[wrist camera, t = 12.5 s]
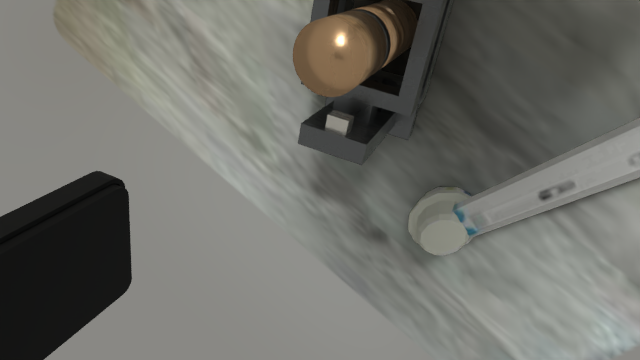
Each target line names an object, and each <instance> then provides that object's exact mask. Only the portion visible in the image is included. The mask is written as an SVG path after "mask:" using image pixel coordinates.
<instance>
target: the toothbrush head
mask: <svg viewBox="0 0 640 360" xmlns="http://www.w3.org/2000/svg"><path fill="white" fill-rule="evenodd" d="M639 177H640V118H638V119H636V120H633V121H631V122H629V123H627V124H625V125H623V126H621V127H619V128H616V129H614V130H612V131H610V132H608V133H606V134H604V135H602V136H599V137H597V138H595V139H593V140H591V141H589V142H587V143H585V144H582V145H580V146H578V147H576V148H574V149H572V150H570V151H568V152H565V153H563V154H561V155H559V156H557V157H555V158H553V159H551V160H549V161H546V162H544V163H542V164H540V165H538V166H536V167H534V168H532V169H529V170H527V171H525V172H523V173H521V174H519V175H517V176H515V177H512V178H510V179H508V180H506V181H504V182H502V183H500V184H498V185H495V186H493V187H491V188H489V189H487V190H485V191H483V192H481V193H478V194H476V195H474V196H471V195H470V193H468V192H466V191H464V190H462V189H460V188H458V187H437V188H435V189H433V190H431V191H429V192H427V193H426V194H425V195H424V197H423V198H421V199H420V200H419V201H418V203H417V204H416V205H415V206H414V208H413V209H412V210H411V211H410V214H409V224H408V231H409V233H410V234H411V236H412V238H413V239H414V241H415V243H417V244H419V245H421V247H422V248H423V249H424V250H425V251H427V252H429V253H431V254H433V255H448V254H451V253H453V252H456V251H458V250H460V249H461V247H462V246H463V245H465V244H468V243H469V241H470V240H471V239H472V238H473V237H474V236H477V235H480V234H483V233H485V232H488V231H491V230H494V229H497V228H499V227H502V226H505V225H508V224H511V223H513V222H516V221H519V220H522V219H525V218H527V217H530V216H533V215H536V214H539V213H541V212H544V211H547V210H550V209H553V208H555V207H558V206H561V205H564V204H567V203H569V202H572V201H575V200H578V199H581V198H583V197H586V196H589V195H592V194H595V193H597V192H600V191H603V190H606V189H609V188H611V187H614V186H617V185H620V184H623V183H625V182H628V181H631V180H634V179H637V178H639Z"/></svg>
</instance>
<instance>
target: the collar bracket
mask: <svg viewBox="0 0 640 360" xmlns="http://www.w3.org/2000/svg"><path fill="white" fill-rule="evenodd" d="M409 1H413V2H418V3H422V4H423V5H422V9H421V13H420V17H419V20H418V24H417V28H416V32H415V36H414V40H413V43H412V47H411V51H410V55H409V59H408V62H407V66H406V70H405V74H404V77H403V76H400V75H396V74H392V73H389V72H385V71H382V70H378V71H377V72H376V73H374V74H373V75H372V76H370V77H369V78H367V79H366V80H365V81H363V82H362V83H360V84H359V85H358V86H356V87H355V88H353V89H352V90H351V91H349V92H348V93H346V94H344V95H341V96H337V97H327V98H326V104H325V107H324V108H322V109H321V110H319V111H318V112H317V113H315V114H314V115H312V116H311V117H310V118H308V119H307V120H305V121H304V122H303V123H301V128H300V134H299V141H298V144H301V145H304V146H307V147H310V148H313V149H316V150H319V151H322V152H325V153H327V154H330V155H333V156H336V157H339V158H342V159H345V160H348V161H351V162H354V163H357V164H360V165H362V164H363V163H364V162H365V160H366V159H367V158H368V157H369V156H370V154H371V153H372V152H373V151H374V150H375V148H376V147H377V146H378V145H379V144H380V142H381V141H382V140H383V139H384V138H385V136H386V135H387V134H390V135H393V136H397V137H400V138H403V139H406V140H408V139H409V138H410V136H411V133H412V129H413V126H414V122H415V119H416V116H417V112H418V109H419V105H420V104H421V102H422V101H423V100H424V99H425V96H426V93H427V90H428V86H429V83H430V79H431V76H432V72H433V69H434V66H435V62H436V59H437V55H438V52H439V48H440V45H441V42H442V38H443V35H444V31H445V28H446V24H447V21H448V18H449V14H450V11H451V7H452V4H453V0H409ZM353 3H354V0H314V2H313V9H312V15H311V22H313V21H315V20H318V19H321V18H325V17H328V16H332V15H335V14H339V13H342V12H346V11H349V10H352V8H353ZM311 22H310V23H311ZM301 84H303V82H302V81H301ZM303 85H304V84H303Z"/></svg>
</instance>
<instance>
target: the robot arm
mask: <svg viewBox="0 0 640 360" xmlns="http://www.w3.org/2000/svg"><path fill="white" fill-rule="evenodd" d="M130 249H131V248H130V222H129V196H128V191H127V190H126V189H125V185H124V183H123V181H122V180H120V179H118V178H116V177H113V176H111V175H108V174H106V173H103V172H101V171H95V172H92V173H90V174H88V175H86V176H83V177H82V178H79V179H77V180H75V181H73V182H71V183H69V184H67V185H65V186H63V187H61V188H59V189H57V190H55V191H53V192H51V193H49V194H47V195H44V196H42V197H40V198H39V199H36V200H34V201H33V202H30V203H28V204H26V205H24V206H22V207H20V208H18V209H16V210H14V211H12V212H10V213H7V214H5V215H3V216H1V217H0V360H44V359H45V358H46V357H47V356H48V355H50V354H51V353H52V352H53V351H55V350H56V349H57V348H58V347H59V346H61V345H62V344H63V343H64V342H66V341H67V340H68V339H69V338H70V337H72V336H73V335H74V334H75V333H77V332H78V331H79V330H80V329H81V328H83V327H84V326H85V325H86V324H88V323H89V322H90V321H91V320H92V319H94V318H95V317H96V316H97V315H98V314H100V313H101V312H102V311H103V310H104V309H106V308H107V307H108V306H109V305H111V304H112V303H113V302H114V301H115V300H117V299H118V298H119V297H120V296H122V295H123V294H124V293H125V292H126V291H127V289H128V288H129V286H130V283H131V279H132V276H131V250H130Z"/></svg>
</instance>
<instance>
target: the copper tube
mask: <svg viewBox="0 0 640 360" xmlns="http://www.w3.org/2000/svg"><path fill="white" fill-rule="evenodd" d="M417 24H418V21H417V17H416V15H415V13H414V11H413V10H412V8H411V7H410V6H409V5H408V4H406V3H405V2H403V1H400V0H384V1H381V2H377V3H374V4H370V5H367V6H363V7H360V8H356V9H353V10H349V11H346V12H342V13H339V14H335V15H332V16H328V17H325V18H321V19H318V20H315V21H313V22H311V23H309V24H308V25H306V26H305V27H304V28H303V29H302V30H301V32H300V33H299V35H298V36H297V38H296V41H295V44H294V48H293V62H294V66H295V70H296V72H297V75H298V76H299V78H300V80H301V81H302V82H303V84H304V85H305V86H306V87H307V88H308V89H310V90H311V91H313V92H314V93H316V94H319V95H321V96H325V97H337V96H341V95H344V94H346V93H348V92H349V91H351V90H352V89H353V88H355V87H356V86H358V85H359V84H360V83H362V82H363V81H365V80H366V79H367V78H369V77H370V76H372V75H373V74H374V73H376V72H377V71H378V70H380V69H381V68H383V67H384V66H385V65H387V64H388V63H390V62H391V61H392V60H394V59H395V58H397V57H398V56H399V55H401V54H402V53H403V52H405V51H406V50H408V49H409V48H410V47H411V46H412V43H413V40H414V36H415V32H416V28H417Z"/></svg>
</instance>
